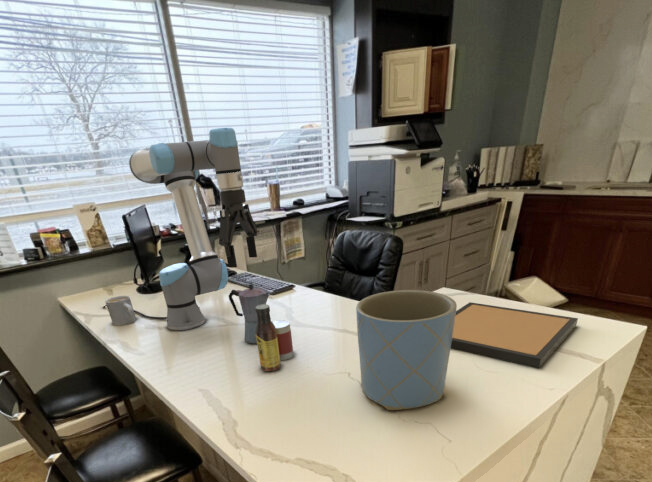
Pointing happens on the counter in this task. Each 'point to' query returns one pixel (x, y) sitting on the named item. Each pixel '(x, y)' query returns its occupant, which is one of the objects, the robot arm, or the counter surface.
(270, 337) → the sauce bottle
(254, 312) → the moka pot
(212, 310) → the counter surface
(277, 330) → the tin can
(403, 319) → the planter
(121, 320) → the coffee mug
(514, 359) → the framed cork board
